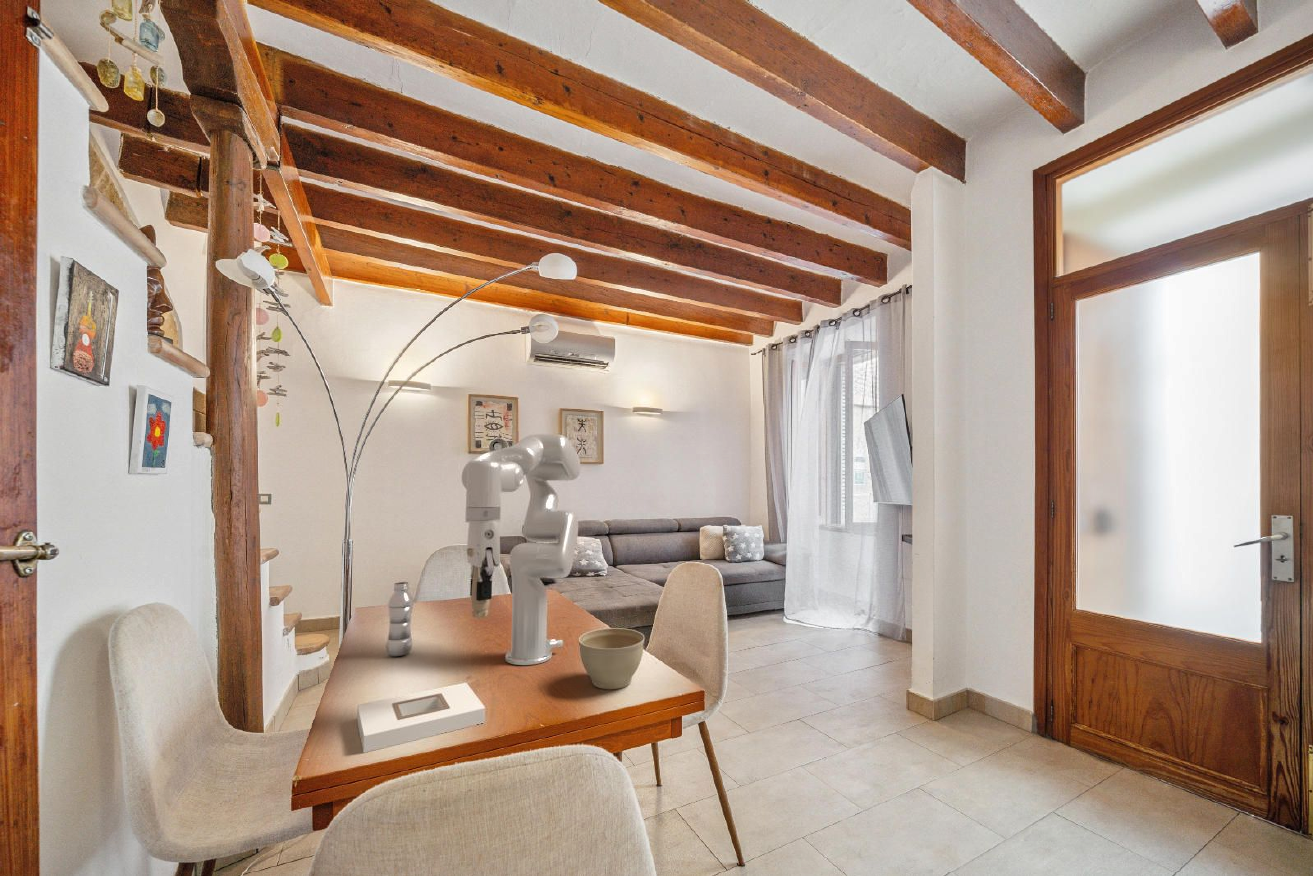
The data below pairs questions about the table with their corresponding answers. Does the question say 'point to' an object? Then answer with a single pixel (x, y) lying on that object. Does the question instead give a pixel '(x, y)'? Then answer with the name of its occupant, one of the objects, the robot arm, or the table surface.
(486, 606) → the handle
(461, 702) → the socket board
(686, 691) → the table surface
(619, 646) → the planter bowl
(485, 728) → the table surface
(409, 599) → the plastic bottle
